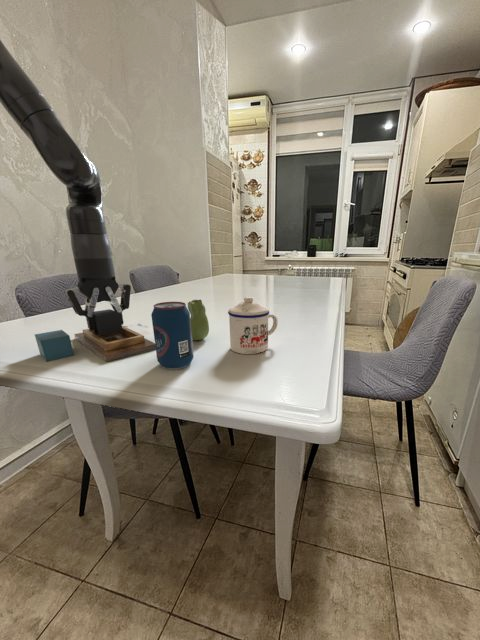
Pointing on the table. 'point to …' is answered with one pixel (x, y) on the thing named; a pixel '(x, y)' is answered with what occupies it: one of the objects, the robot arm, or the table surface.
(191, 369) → the table surface
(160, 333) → the soda can
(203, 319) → the pear
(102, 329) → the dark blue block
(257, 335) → the teacup with lid
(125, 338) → the frame
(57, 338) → the teal block
